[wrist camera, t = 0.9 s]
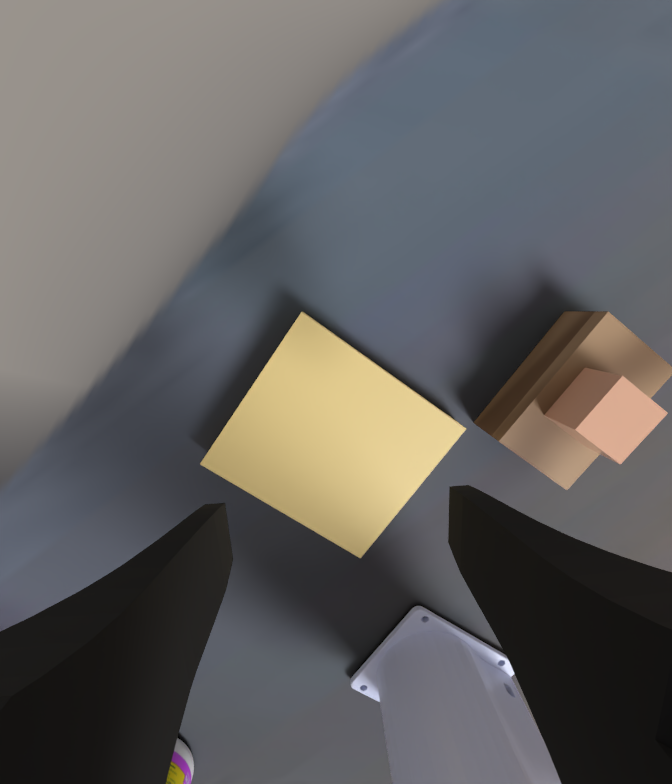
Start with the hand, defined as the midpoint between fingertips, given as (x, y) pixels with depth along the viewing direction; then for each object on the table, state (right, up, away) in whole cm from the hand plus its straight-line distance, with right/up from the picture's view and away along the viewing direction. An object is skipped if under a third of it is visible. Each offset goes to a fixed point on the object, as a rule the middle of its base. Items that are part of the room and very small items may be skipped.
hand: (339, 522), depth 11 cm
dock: (0, +2, +10) cm, 10 cm away
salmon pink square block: (+13, +3, +7) cm, 15 cm away
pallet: (+12, +4, +10) cm, 16 cm away
